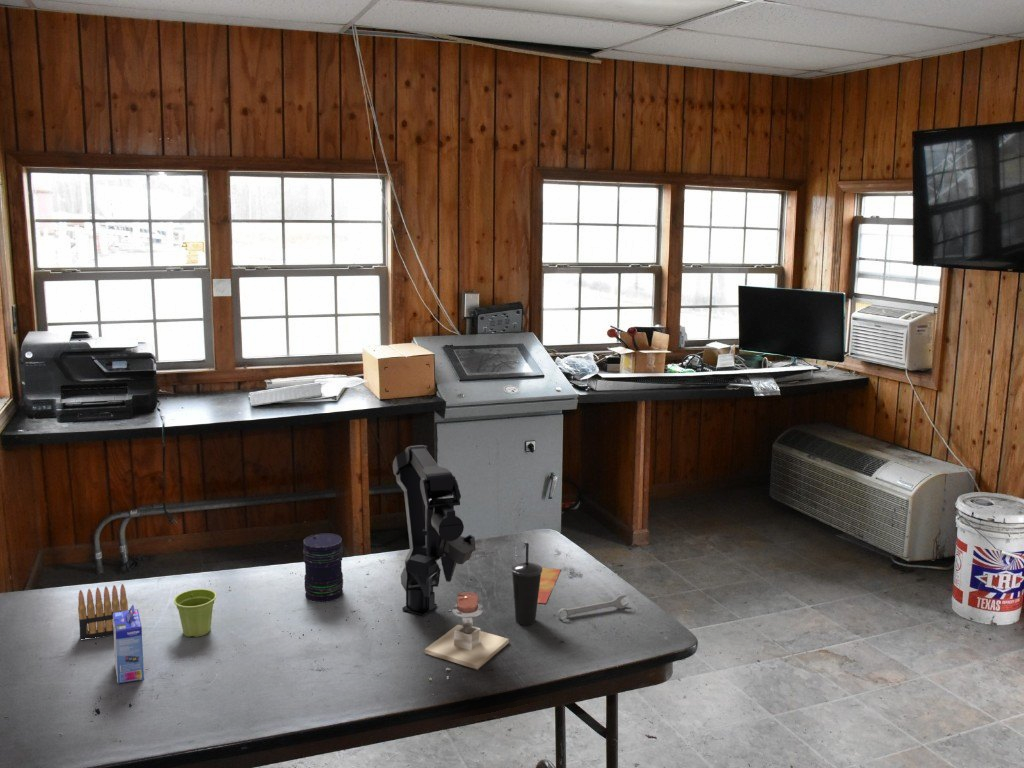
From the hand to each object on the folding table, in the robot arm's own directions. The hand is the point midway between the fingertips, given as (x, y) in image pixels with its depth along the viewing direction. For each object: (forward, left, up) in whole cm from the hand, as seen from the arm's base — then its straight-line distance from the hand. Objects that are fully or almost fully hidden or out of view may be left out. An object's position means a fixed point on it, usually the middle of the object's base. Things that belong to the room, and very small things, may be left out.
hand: (438, 588), depth 204 cm
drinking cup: (+13, +18, -13) cm, 26 cm away
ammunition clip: (-68, -39, -13) cm, 79 cm away
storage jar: (-39, +4, -13) cm, 41 cm away
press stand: (+8, -1, -12) cm, 15 cm away
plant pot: (-51, -27, -13) cm, 59 cm away
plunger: (+8, -1, -7) cm, 11 cm away
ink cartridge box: (-49, -47, -13) cm, 68 cm away
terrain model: (-2, +36, -13) cm, 39 cm away
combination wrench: (+26, +31, -13) cm, 43 cm away
